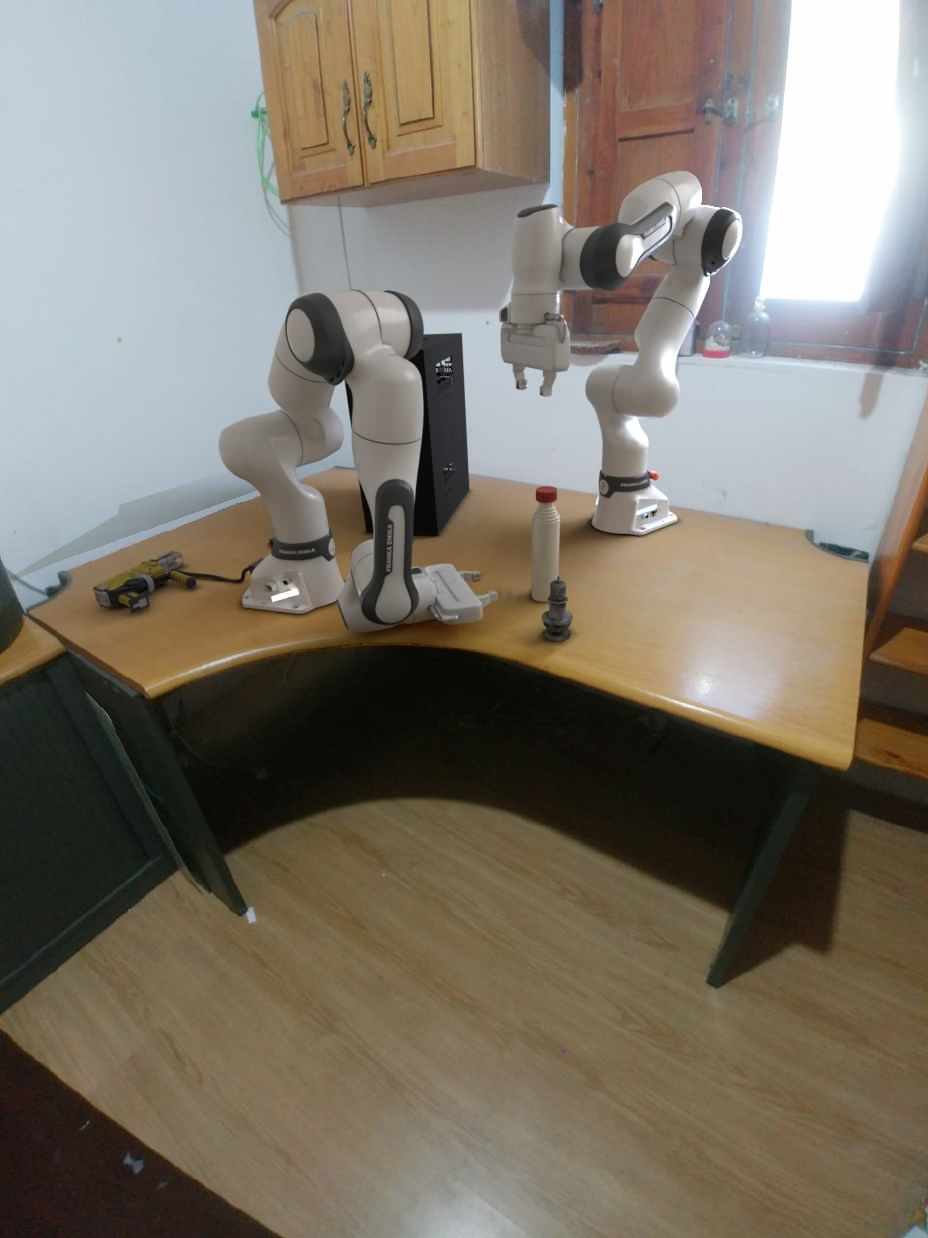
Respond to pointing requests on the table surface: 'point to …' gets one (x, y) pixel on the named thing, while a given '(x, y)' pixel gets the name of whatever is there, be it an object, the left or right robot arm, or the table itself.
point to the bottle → (544, 550)
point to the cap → (546, 494)
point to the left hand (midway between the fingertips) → (488, 585)
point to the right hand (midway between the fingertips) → (533, 392)
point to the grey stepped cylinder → (557, 613)
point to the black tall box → (436, 435)
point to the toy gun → (141, 582)
